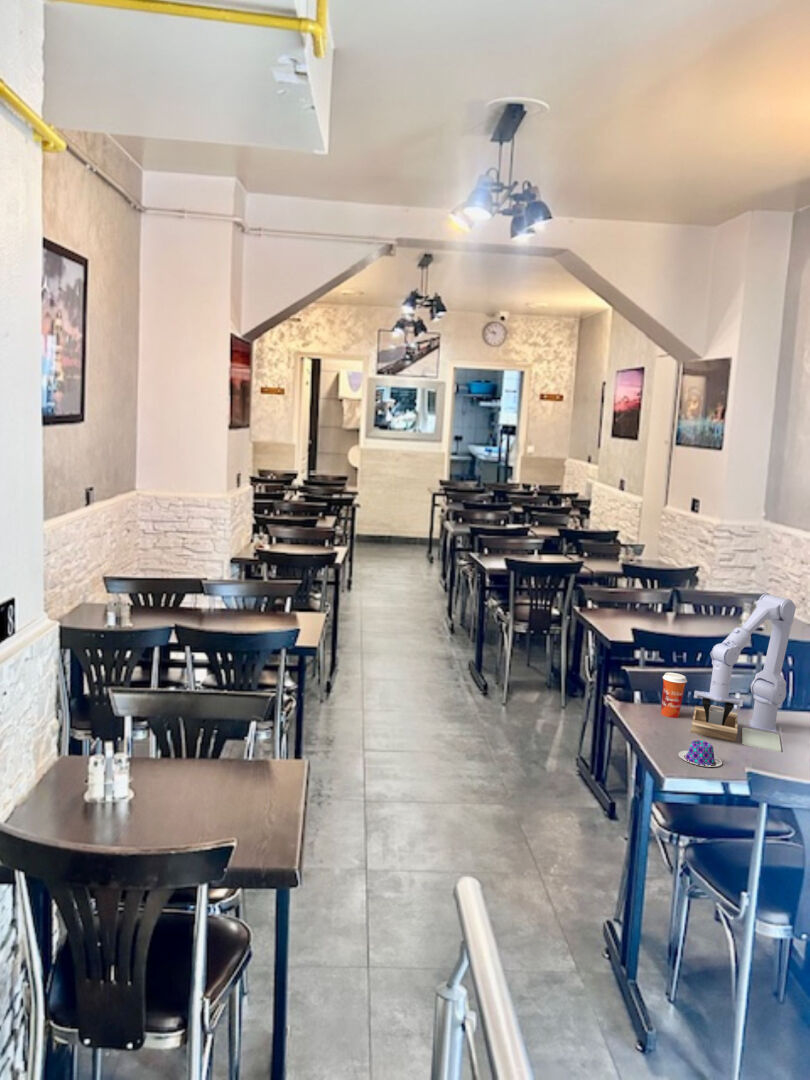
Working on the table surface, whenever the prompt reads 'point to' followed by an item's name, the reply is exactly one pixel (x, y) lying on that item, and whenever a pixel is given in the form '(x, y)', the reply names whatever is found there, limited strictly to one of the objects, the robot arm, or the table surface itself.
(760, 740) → the board
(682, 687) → the paper cup
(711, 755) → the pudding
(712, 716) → the block
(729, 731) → the light wood shallow tray
